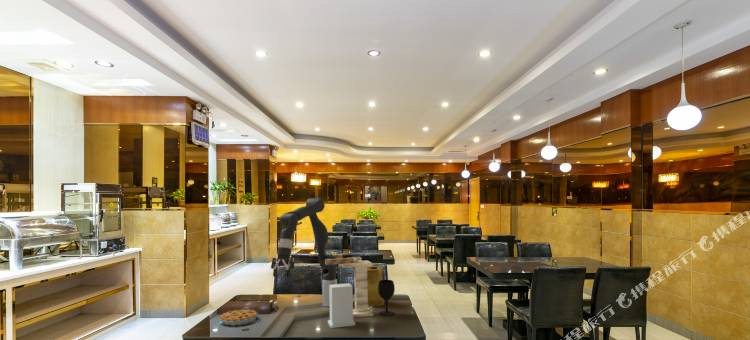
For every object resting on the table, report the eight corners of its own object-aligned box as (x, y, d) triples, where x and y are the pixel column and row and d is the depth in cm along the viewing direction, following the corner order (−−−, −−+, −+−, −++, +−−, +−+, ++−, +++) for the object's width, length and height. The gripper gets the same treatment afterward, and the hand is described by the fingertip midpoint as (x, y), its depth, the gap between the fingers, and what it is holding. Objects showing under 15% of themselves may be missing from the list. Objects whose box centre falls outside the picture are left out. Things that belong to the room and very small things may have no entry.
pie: (246, 313, 265) (246, 305, 265) (264, 320, 249) (264, 312, 249) (213, 321, 249) (213, 313, 250) (229, 329, 234) (229, 320, 234)
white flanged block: (327, 322, 242) (327, 284, 243) (351, 320, 246) (350, 282, 247) (331, 328, 232) (330, 288, 233) (355, 325, 236) (354, 286, 237)
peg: (326, 265, 251) (326, 260, 251) (325, 263, 256) (324, 258, 256) (361, 262, 257) (361, 257, 257) (359, 261, 262) (359, 256, 262)
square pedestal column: (340, 313, 260) (339, 261, 262) (368, 310, 265) (367, 260, 267) (344, 318, 249) (343, 265, 250) (373, 315, 254) (372, 263, 255)
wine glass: (398, 313, 258) (397, 280, 259) (387, 317, 250) (386, 283, 251) (386, 310, 265) (385, 278, 266) (375, 314, 257) (374, 281, 258)
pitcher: (388, 306, 272) (385, 267, 274) (360, 308, 272) (357, 269, 274) (388, 300, 289) (385, 264, 291) (361, 302, 289) (359, 266, 291)
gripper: (299, 248, 236) (295, 278, 230) (279, 249, 242) (275, 277, 236) (291, 246, 229) (287, 276, 224) (270, 246, 235) (266, 276, 230)
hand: (280, 277), depth 230 cm, fingers open, 8 cm apart
